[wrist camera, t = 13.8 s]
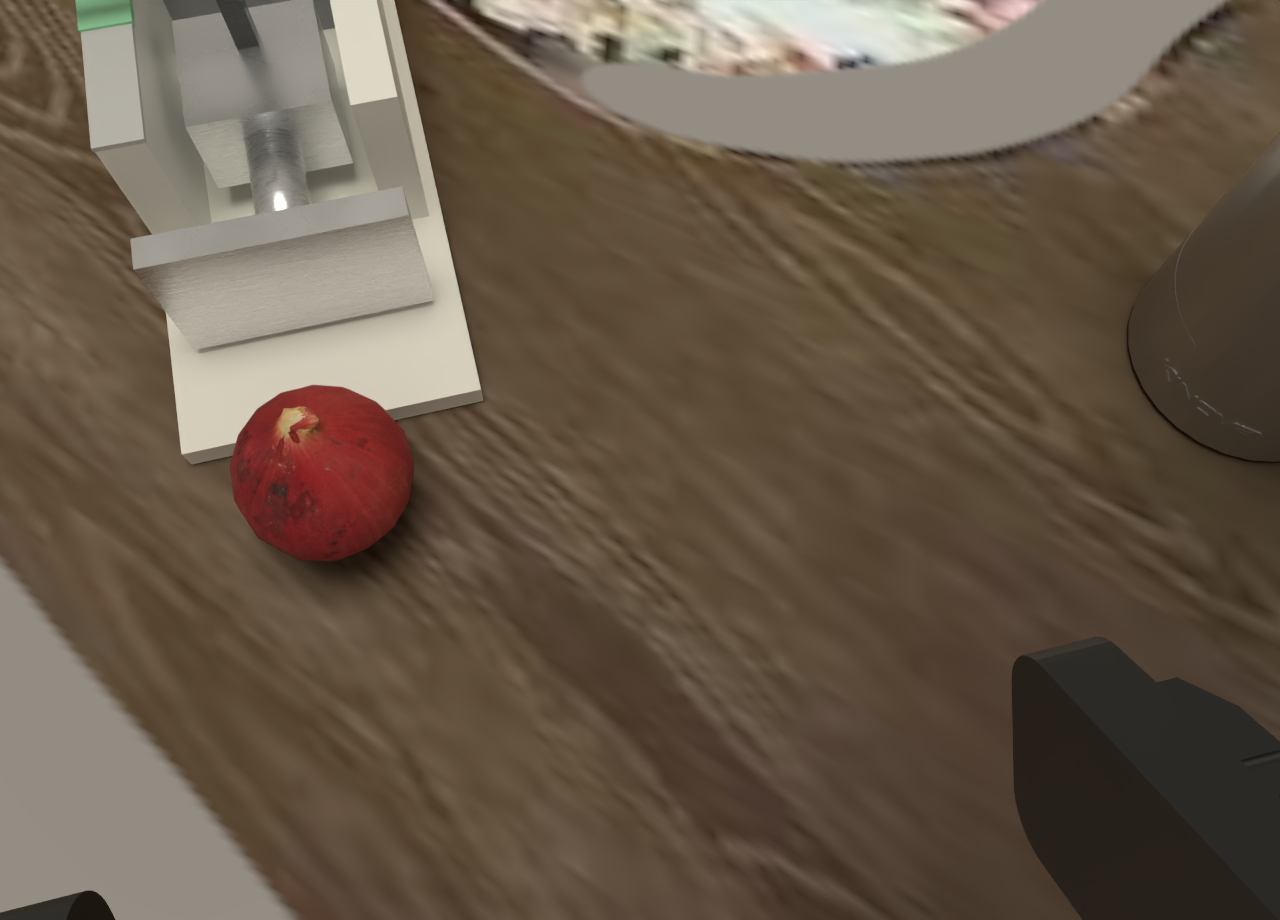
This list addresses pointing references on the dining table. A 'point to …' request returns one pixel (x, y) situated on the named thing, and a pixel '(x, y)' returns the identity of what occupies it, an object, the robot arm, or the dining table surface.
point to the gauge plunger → (274, 189)
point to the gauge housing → (188, 196)
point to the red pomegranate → (321, 472)
